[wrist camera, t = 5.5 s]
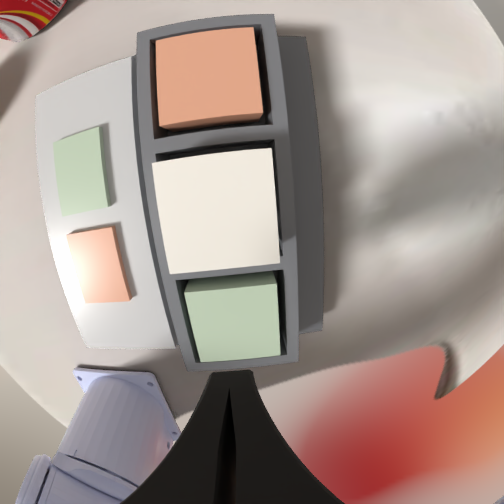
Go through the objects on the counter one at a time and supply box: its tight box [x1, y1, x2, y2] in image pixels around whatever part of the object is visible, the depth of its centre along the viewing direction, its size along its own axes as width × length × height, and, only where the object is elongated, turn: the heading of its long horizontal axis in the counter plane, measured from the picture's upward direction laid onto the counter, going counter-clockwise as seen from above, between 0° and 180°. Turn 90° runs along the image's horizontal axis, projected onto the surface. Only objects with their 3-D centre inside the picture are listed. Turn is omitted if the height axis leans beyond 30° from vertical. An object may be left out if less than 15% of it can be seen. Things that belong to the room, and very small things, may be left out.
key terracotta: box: [156, 27, 263, 132], centre depth 10 cm, size 4×4×2 cm
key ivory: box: [152, 148, 280, 274], centre depth 10 cm, size 4×4×2 cm
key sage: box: [184, 271, 280, 362], centre depth 13 cm, size 4×4×2 cm
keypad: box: [35, 14, 324, 371], centre depth 13 cm, size 17×16×4 cm
